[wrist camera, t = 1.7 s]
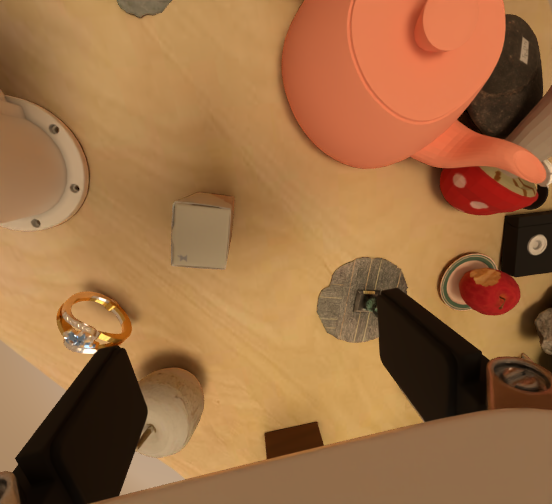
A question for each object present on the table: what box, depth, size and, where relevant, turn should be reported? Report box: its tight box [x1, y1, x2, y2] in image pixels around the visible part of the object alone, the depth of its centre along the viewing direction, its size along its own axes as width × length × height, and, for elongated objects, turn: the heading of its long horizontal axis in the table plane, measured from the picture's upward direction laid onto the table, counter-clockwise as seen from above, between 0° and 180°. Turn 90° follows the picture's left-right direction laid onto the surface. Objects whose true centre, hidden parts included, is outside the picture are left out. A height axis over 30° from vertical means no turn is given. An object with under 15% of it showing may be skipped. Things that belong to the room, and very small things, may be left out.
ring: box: [57, 291, 132, 353], centre depth 30 cm, size 7×3×8 cm, turn 41°
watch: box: [523, 159, 552, 210], centre depth 33 cm, size 8×5×4 cm, turn 26°
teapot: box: [282, 0, 546, 183], centre depth 24 cm, size 25×17×13 cm
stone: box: [467, 14, 543, 139], centre depth 29 cm, size 11×11×5 cm
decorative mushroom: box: [440, 85, 552, 215], centre depth 28 cm, size 10×9×15 cm
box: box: [171, 192, 235, 269], centre depth 27 cm, size 5×4×11 cm
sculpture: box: [317, 257, 408, 343], centre depth 37 cm, size 12×9×8 cm
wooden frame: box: [265, 422, 324, 459], centre depth 41 cm, size 8×8×4 cm
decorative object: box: [135, 367, 204, 458], centre depth 33 cm, size 9×9×10 cm
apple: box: [440, 254, 520, 315], centre depth 35 cm, size 8×8×6 cm
